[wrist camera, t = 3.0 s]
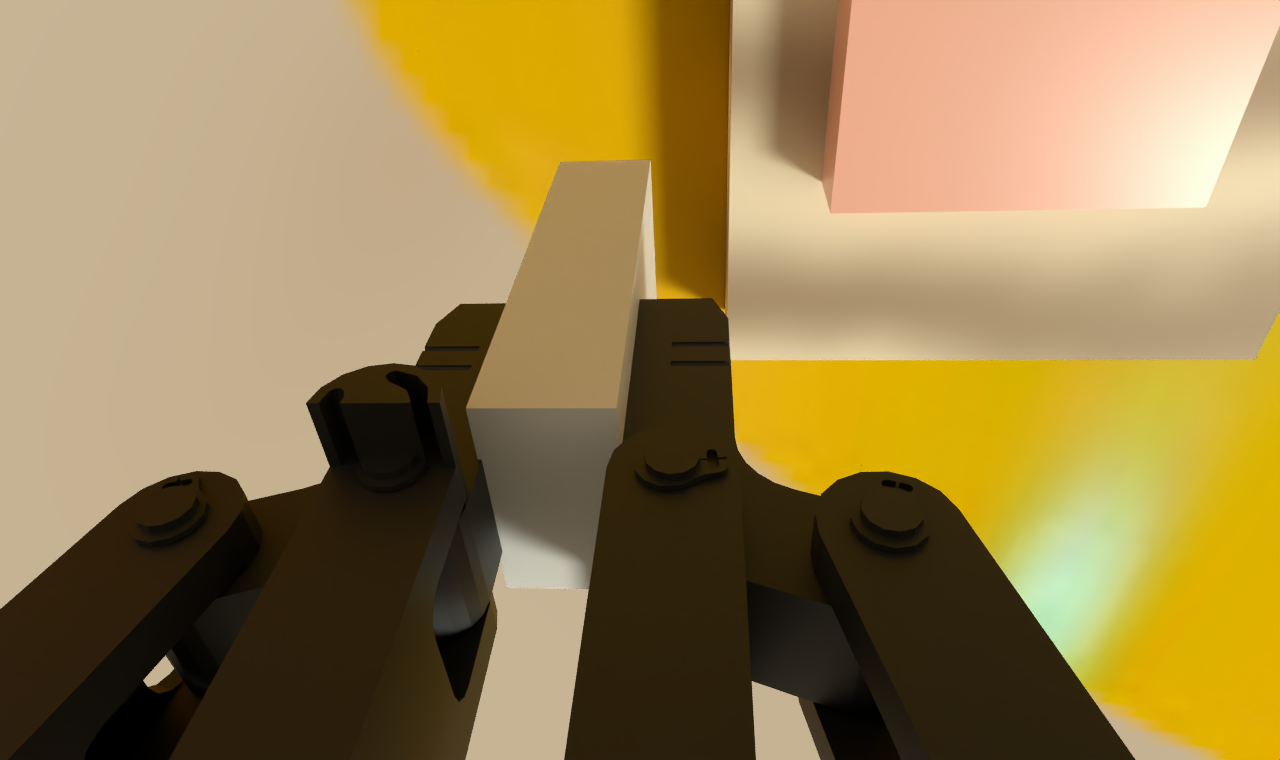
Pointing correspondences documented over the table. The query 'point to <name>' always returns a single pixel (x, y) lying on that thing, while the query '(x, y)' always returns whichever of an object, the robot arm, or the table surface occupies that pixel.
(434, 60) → the table surface
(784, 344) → the beige striped slab
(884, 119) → the pink rectangular block
